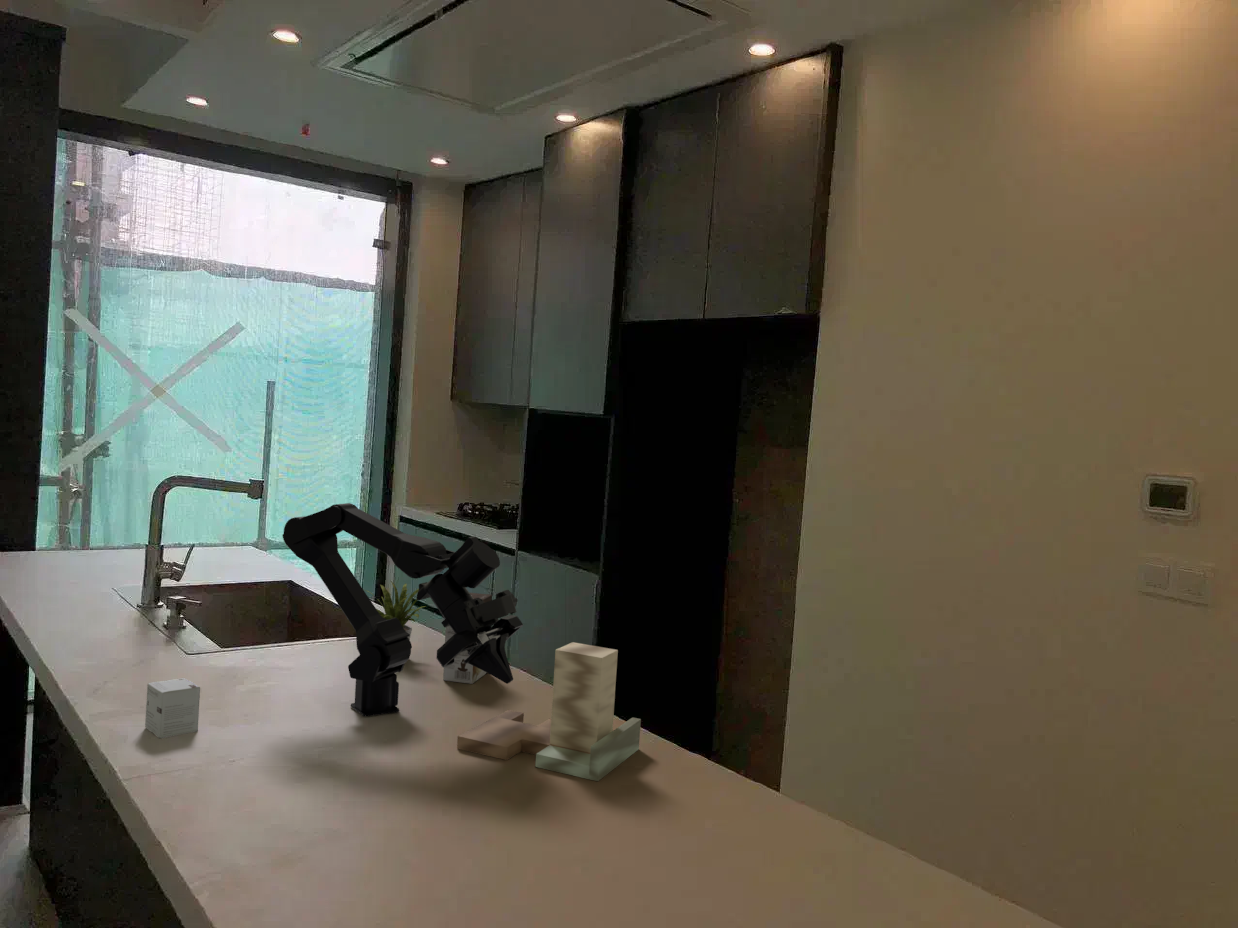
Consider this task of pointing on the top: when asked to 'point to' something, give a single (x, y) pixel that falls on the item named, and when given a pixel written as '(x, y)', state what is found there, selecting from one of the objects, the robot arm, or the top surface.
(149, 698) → the skincare box
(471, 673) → the coffee box
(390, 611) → the house plant
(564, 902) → the top surface
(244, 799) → the top surface
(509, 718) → the trap runway
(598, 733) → the beech block
